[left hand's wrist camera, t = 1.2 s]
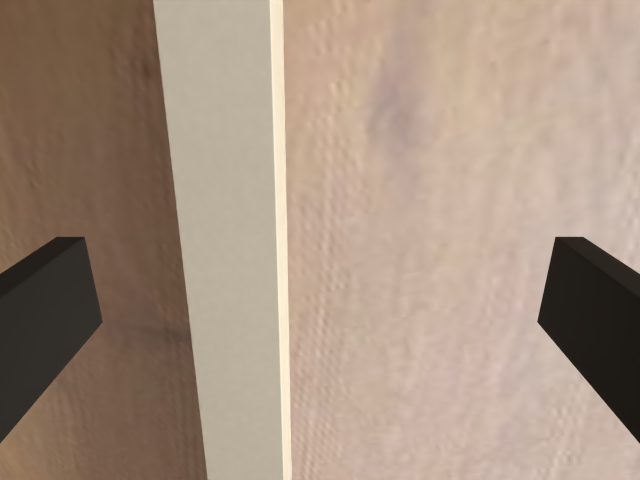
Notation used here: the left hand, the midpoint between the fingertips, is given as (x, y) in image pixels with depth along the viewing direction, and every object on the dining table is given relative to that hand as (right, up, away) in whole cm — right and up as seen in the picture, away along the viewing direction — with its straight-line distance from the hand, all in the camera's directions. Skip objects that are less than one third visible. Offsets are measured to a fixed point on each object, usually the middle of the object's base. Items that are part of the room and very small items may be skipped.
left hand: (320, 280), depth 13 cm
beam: (-5, -18, +26) cm, 32 cm away
